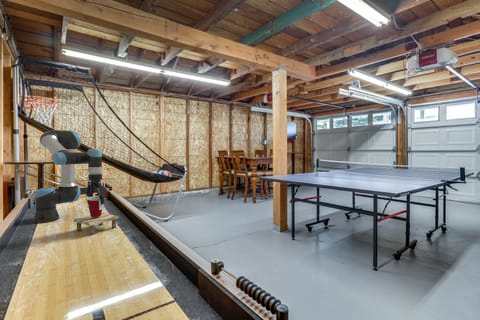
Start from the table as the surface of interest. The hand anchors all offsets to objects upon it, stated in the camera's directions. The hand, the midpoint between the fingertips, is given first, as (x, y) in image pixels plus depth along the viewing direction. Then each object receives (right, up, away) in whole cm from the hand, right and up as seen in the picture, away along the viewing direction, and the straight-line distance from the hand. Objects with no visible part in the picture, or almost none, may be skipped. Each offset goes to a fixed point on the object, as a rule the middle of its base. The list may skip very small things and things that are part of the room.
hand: (96, 208), depth 158 cm
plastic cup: (0, -5, 0) cm, 5 cm away
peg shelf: (0, -13, +1) cm, 13 cm away
